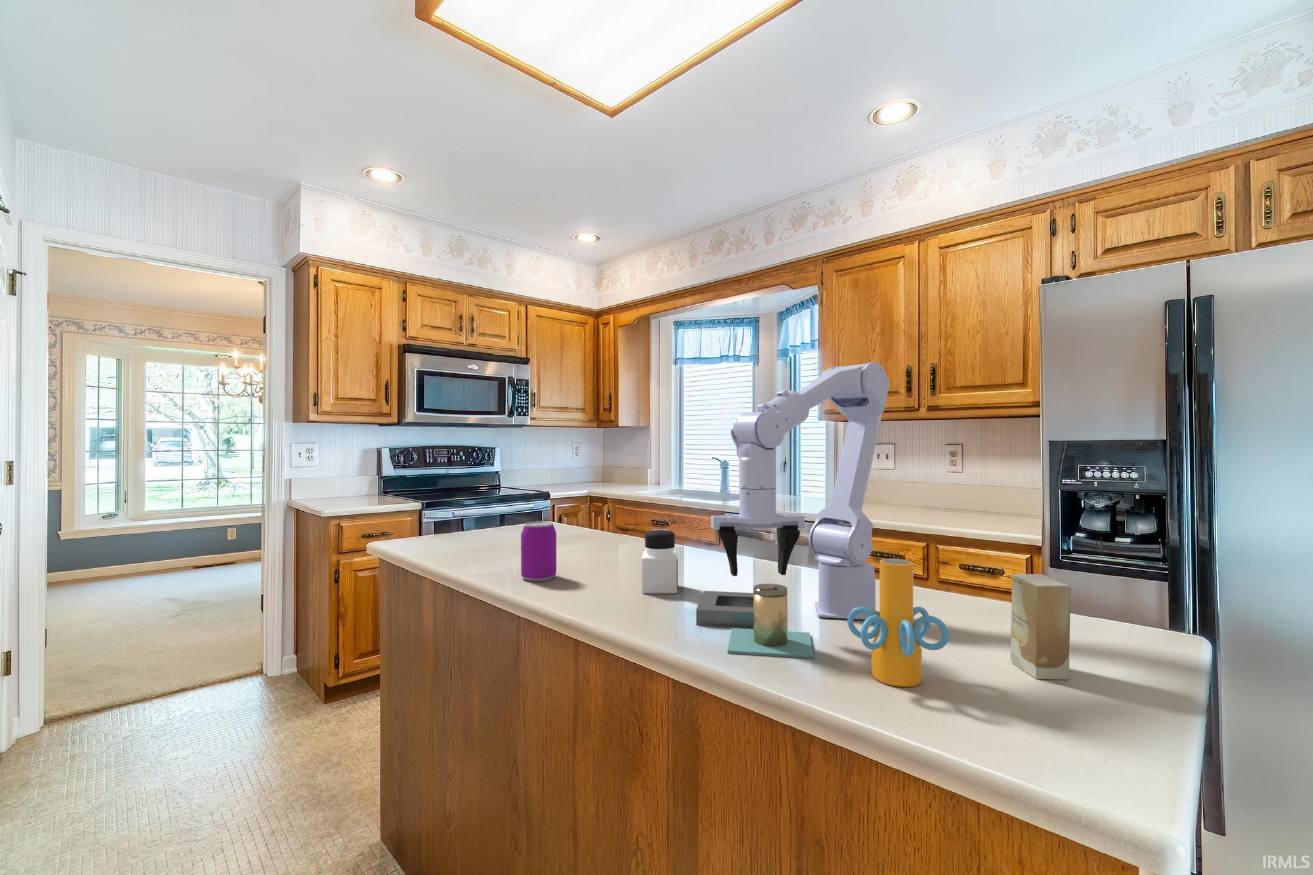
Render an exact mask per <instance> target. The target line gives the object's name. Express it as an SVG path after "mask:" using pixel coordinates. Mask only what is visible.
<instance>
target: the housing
mask: <svg viewBox="0 0 1313 875" xmlns="http://www.w3.org/2000/svg"><path fill="white" fill-rule="evenodd" d="M695 615H696V617H695V619H696V620H695V624H696V625H698V626H713V627H714V626H716V627H729V628H730V627H731V628H747V629H754V605H753V592H739V591H736V592H735V591H719V590H703V593H702V595H701V597H700V599H699V601H698V604H697V607H696V610H695Z"/></svg>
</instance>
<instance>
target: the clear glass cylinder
mask: <svg viewBox="0 0 1313 875" xmlns="http://www.w3.org/2000/svg"><path fill="white" fill-rule="evenodd" d="M752 593H753V605H754V628H753V629H754V642H755V643H757V644H759V645H762V646H767V647H780V646H784V645H786V644H787V642H788V632H787V631H788V587H787V586H785V585H782V584H777V583H759V584H756V585H753V592H752Z"/></svg>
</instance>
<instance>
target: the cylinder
mask: <svg viewBox="0 0 1313 875" xmlns="http://www.w3.org/2000/svg"><path fill="white" fill-rule="evenodd" d="M858 613H867V614H869V615H870V617H868V618H867V619H866V620H864V622H863V623H862V626H861V628H860V630H858V629H857V627H856V626H855V623H854V620H855V619H854V617H855V616H856V615H857V614H858ZM918 614H921V616H920V617H918V618H917V619H915V621H914V617H915V616H916V615H918ZM873 623H874V627H873V629H872V630H871V631H870V632H868V631H869V628H870V626H871V625H872V624H873ZM930 623H932V624H935V625H937V626H938V628H939V629H940V630H941V639H940V640H939V641H938V642H936V643H935V642H934V643H931V642H930V643H929V642H927V641H925V640H924V639H923V638H924V637H925V636H926V635H927V633H928V631H929V629H930ZM847 625H848V629H849V630H850V632H851V634H853V635H854V636H855V637H856V638H859V639H860V640H861V642H862V644H863V646H864V647H865V648H866V649H868V650H870V651H871V674H872V677H873V678H874V679H875V680H876V681H878V682H880V683H883V684H886V685H889V686H893V687H901V688H905V687H906V688H909V687H910V688H911V687H915V686H918V685H920V684H921V682H922V681H923V667H922V666H923V665H922V664H923V659H922V658H923V652H922V648H924V649H926V650H929V651H938V650H941V649H943V648H944V647H945V646H946V645H947V644H948V642H949V640H950V632H949V629H948V626H947V625H946V623H945V622H944V621H943V620H942V619H940V618H938V617H936V616H934V615H930V614H929V612H928V611H927V610H926V608H924V607H922V606H915V607H914V562H913V561H910V560H907V559H901V558H882V559H879V615H878V614H877V612H876V613H875V612H874V611H873V610H872V609H870V608H867V607H857V608H854V609H853V610H852V611H851V612H850V613H849V615H848V619H847ZM920 627H921V628H920ZM919 629H920V630H919ZM872 639H873V640H872ZM870 640H872V642H870Z"/></svg>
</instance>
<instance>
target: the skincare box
mask: <svg viewBox="0 0 1313 875" xmlns="http://www.w3.org/2000/svg"><path fill="white" fill-rule="evenodd" d="M1071 592H1072V585H1068V584H1066V583H1064V582H1061V581H1060V580H1057V579H1055V578H1051V577H1050V576H1047V575H1044V574H1041V573H1038V574H1037V573H1033V574H1032V573H1029V574H1028V573H1020V574H1019V573H1017V574H1016V573H1013V574H1011V610H1010V611H1011V616H1010V619H1011V620H1010V621H1011V622H1010V628H1011V629H1010V662H1011V663H1013V664H1015V665H1016V666H1017V667H1018V668H1020V669H1021V670H1022V671H1024V672H1026V673H1027V674H1028V675H1029V676H1031V677H1032V678H1034V679H1035V680H1070V648H1071V647H1070V644H1071V642H1070V641H1071V639H1070V638H1071V634H1070V633H1071V598H1072V594H1071Z"/></svg>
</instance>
